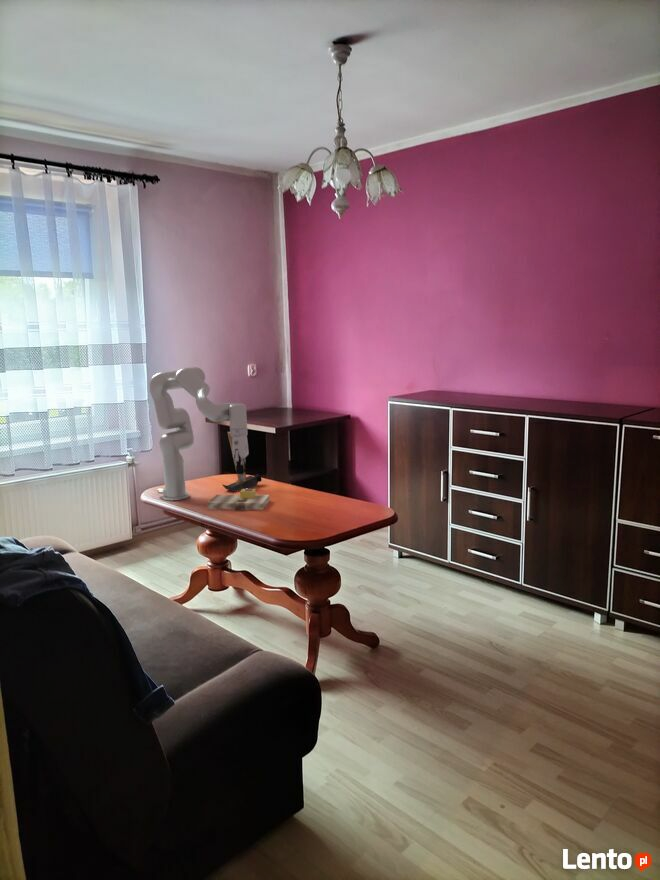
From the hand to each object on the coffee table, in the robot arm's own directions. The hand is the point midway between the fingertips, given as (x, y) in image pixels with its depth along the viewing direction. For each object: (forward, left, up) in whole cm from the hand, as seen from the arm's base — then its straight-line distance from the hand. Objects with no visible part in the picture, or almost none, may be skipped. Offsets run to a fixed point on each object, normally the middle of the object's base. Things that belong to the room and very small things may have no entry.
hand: (241, 472), depth 285 cm
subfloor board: (-3, +3, -16) cm, 17 cm away
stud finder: (+1, +7, -13) cm, 15 cm away
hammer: (-9, +34, -16) cm, 38 cm away
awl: (0, 0, -4) cm, 4 cm away
